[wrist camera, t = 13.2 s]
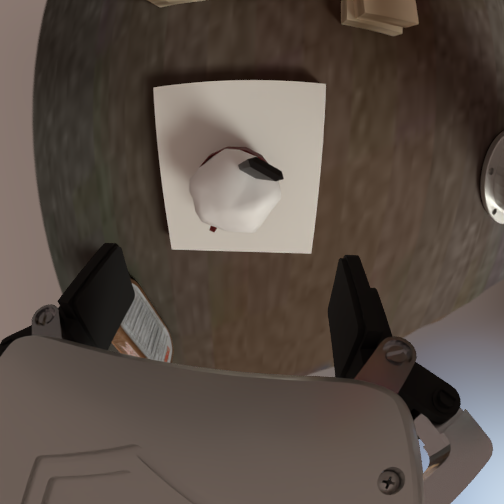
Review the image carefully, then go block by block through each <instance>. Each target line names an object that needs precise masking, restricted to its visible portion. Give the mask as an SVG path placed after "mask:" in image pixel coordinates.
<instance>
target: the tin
mask: <svg viewBox="0 0 504 504" xmlns="http://www.w3.org/2000/svg"><path fill="white" fill-rule="evenodd" d="M130 279H131V278H130ZM131 282H132V285H133V289H134V292H135V298H134V301H133V303H132V305H131V306H130V308H129V310H128V312H127V314H126V316H125V317H124V319H123V321H122V323H121V325H120V327H119V329H118V331H117V333H116V335H115V336H114V338H113V340H112V342H111V343H112V344H113V345H114V346H115V347H116V348H117V350H118V351H119V352H120V353H122V354H126V355H131V356H136V357H141V358H146V359H151V360H157V361H163V362H168V363H172V358H173V352H174V350H173V343H172V339H171V335H170V333H169V330H168V328H167V327H166V325H165V323H164V322H163V321H162V319H161V318H160V316H159V314H158V313H157V311H156V310H155V308H154V307H153V305H152V304H151V302H150V301H149V299H148V298H147V296H146V294H145V293H144V291H143V290H142V288H141V287H140V285H139V284H138V283H137V282H136V281H135V280H133V279H131Z"/></svg>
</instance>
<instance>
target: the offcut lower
mask: <svg viewBox="0 0 504 504" xmlns="http://www.w3.org/2000/svg"><path fill="white" fill-rule="evenodd" d="M341 24H343V25H349V26H354V27H358V28H363V29H367V30H371V31H375V32H379V33H383V34H386V35H390V36H396V35H400V34H403V27H399V26H394V25H389V24H384V23H379V22H373V21H367V20H360V19H355V11H354V4H353V0H341Z"/></svg>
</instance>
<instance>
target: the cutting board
mask: <svg viewBox="0 0 504 504" xmlns="http://www.w3.org/2000/svg"><path fill="white" fill-rule="evenodd" d="M153 91H154V108H155V121H156V133H157V144H158V154H159V163H160V172H161V180H162V188H163V196H164V203H165V210H166V216H167V223H168V229H169V235H170V241H171V247H172V249H175V250H210V251H244V252H278V253H311V251H312V243H313V235H314V227H315V219H316V210H317V201H318V191H319V181H320V171H321V159H322V146H323V132H324V116H325V96H326V84H321V83H310V82H297V81H277V80H229V81H209V82H196V83H185V84H176V85H168V86H160V87H154V88H153ZM229 146H230V147H247V148H249V149H251V150H253V151H255V152H257V153H259V154H261V155H262V156H263V157H264V158H265V160H266V161H267V162H268V164H270V165H272V166H273V167H275V168H277V169H279V170H280V171H282V174H283V178H284V179H283V180H279V185H280V191H281V199H280V200H279V202H278V203H277V204H276V205H275V207H274V208H273V209H272V211H271V212H270V213H269V215H268V216H267V218H266V219H265V220H264V222H263V223H262V225H261V226H260V227H259V228H258V229H257V231H256V232H255V233H245V232H228V231H224V230H221V229H219V228H217V229H216V231H215V232H211V231H210V230H209V229H210V227H211V225H208V224H206V223H203V222H201V220H200V219H199V217H198V215H197V213H196V212H195V207H194V202H193V198H192V196H191V194H190V192H189V182H190V178H191V177H192V176H193V175H194V173H195V172H196V171H197V170H198V168H199V167H200V166H201V165H202V163H203V162H204V161H205V160H206V158H207V157H208V156H209V155H210V154H212V153H214V152H216V151H219V150H221V149H223V148H225V147H229Z"/></svg>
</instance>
